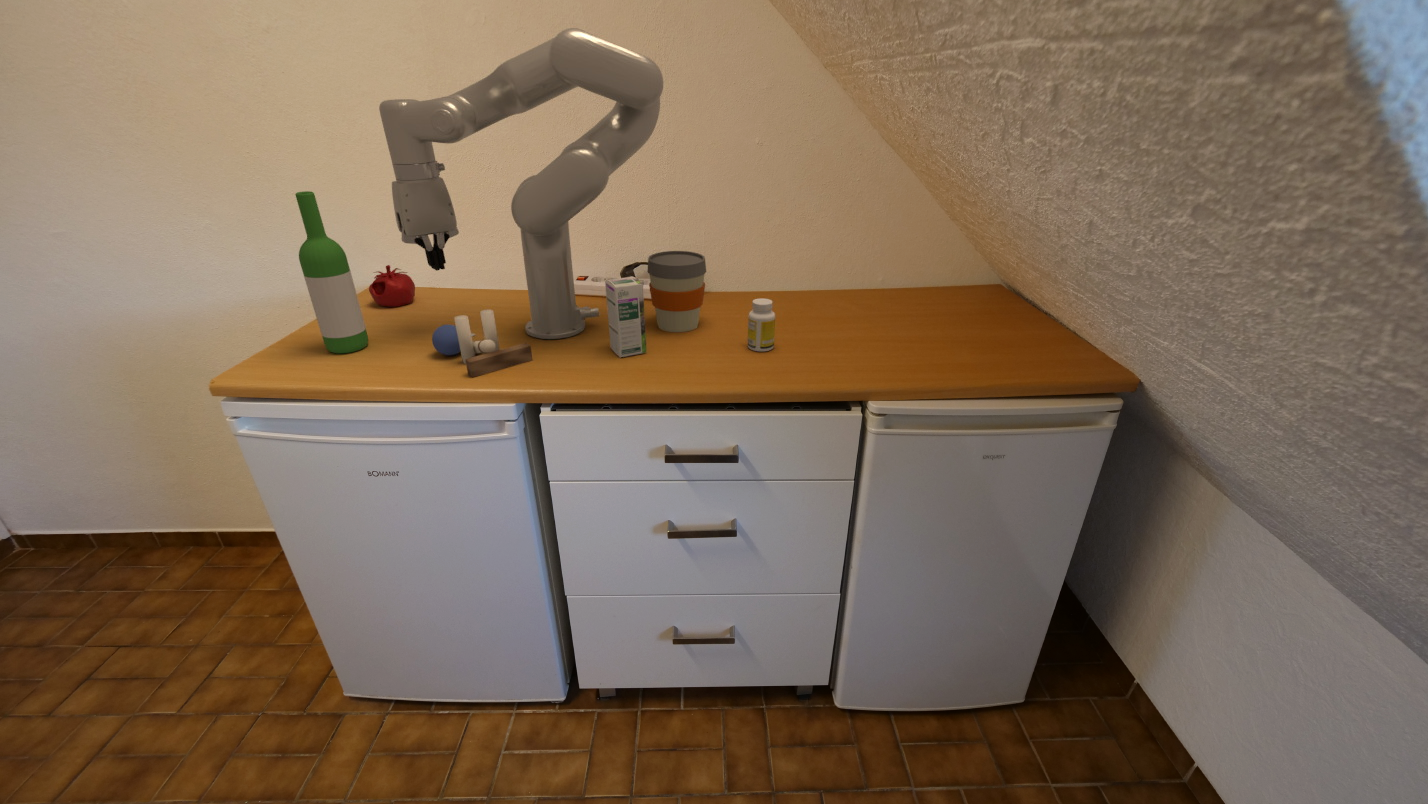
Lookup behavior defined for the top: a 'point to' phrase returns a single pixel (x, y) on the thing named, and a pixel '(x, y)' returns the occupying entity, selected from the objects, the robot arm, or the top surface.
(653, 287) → the reusable coffee cup
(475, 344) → the pin front
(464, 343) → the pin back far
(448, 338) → the ball
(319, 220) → the wine bottle
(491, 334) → the pin back near
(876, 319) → the top surface
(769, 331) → the supplement bottle
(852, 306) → the top surface
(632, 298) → the syrup box
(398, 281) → the pomegranate
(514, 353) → the back rail
